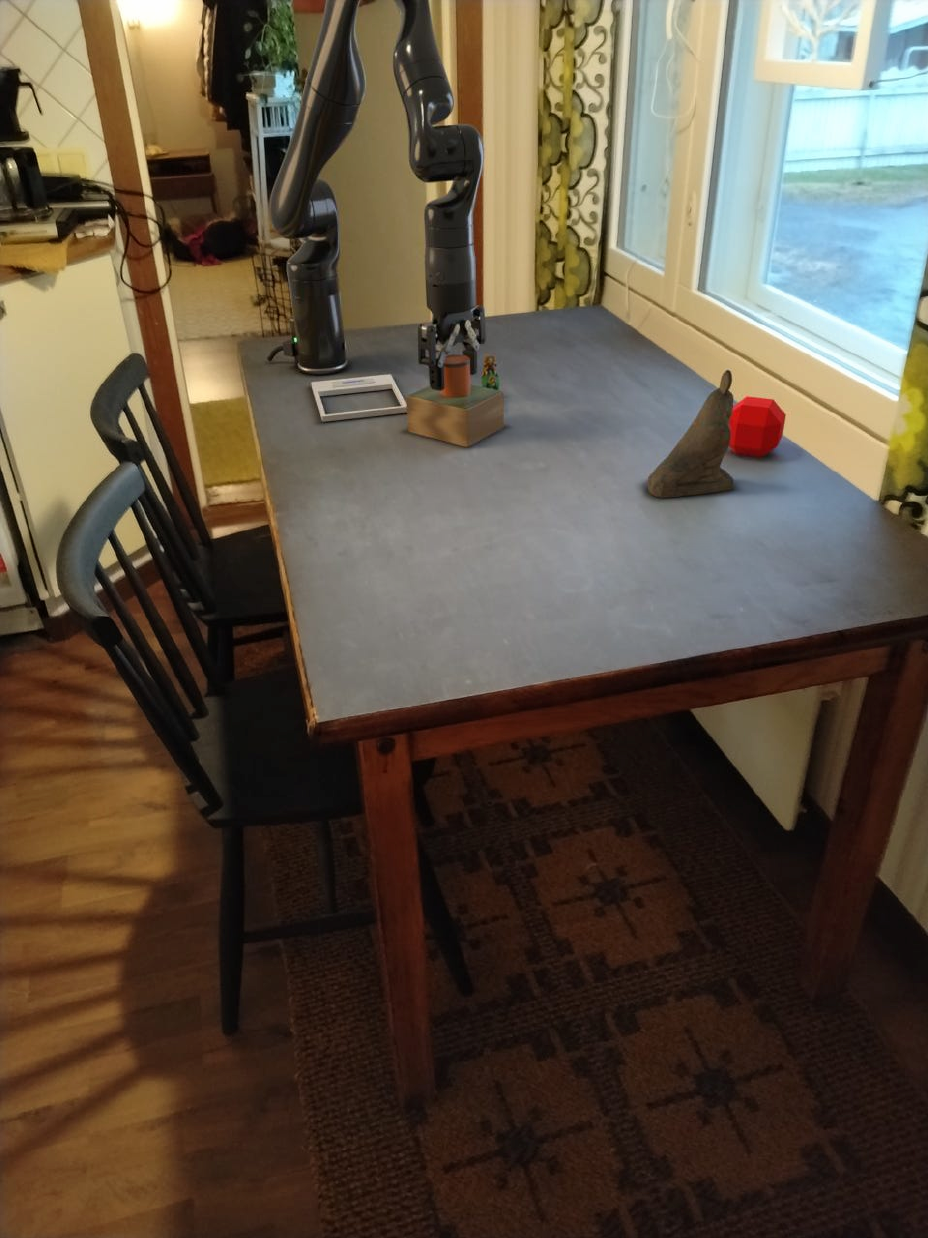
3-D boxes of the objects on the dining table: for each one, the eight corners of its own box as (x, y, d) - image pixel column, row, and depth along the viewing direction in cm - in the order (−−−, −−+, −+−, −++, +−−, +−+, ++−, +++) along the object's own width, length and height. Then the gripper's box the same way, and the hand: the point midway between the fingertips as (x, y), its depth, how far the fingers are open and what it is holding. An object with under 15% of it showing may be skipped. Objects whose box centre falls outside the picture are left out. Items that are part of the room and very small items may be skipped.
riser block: (408, 432, 155) (405, 394, 152) (445, 413, 162) (444, 377, 159) (467, 447, 149) (466, 409, 146) (504, 427, 156) (503, 390, 152)
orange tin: (433, 394, 152) (432, 360, 149) (452, 385, 155) (451, 352, 152) (458, 399, 149) (457, 365, 146) (476, 390, 153) (476, 357, 150)
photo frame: (390, 373, 177) (408, 405, 162) (390, 379, 177) (408, 412, 162) (311, 381, 174) (321, 415, 159) (311, 387, 175) (322, 421, 160)
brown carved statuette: (717, 492, 139) (758, 370, 130) (731, 508, 134) (775, 382, 125) (641, 482, 136) (677, 358, 127) (652, 498, 132) (691, 370, 123)
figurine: (495, 388, 172) (495, 343, 167) (503, 412, 162) (502, 364, 157) (478, 389, 171) (477, 344, 167) (485, 413, 161) (484, 365, 157)
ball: (782, 444, 146) (790, 396, 142) (773, 464, 140) (781, 414, 136) (729, 437, 149) (735, 390, 145) (718, 456, 143) (724, 407, 139)
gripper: (458, 262, 149) (461, 365, 158) (400, 282, 140) (407, 390, 148) (498, 268, 145) (499, 373, 154) (441, 288, 136) (445, 399, 145)
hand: (454, 381), depth 151 cm, fingers open, 8 cm apart
